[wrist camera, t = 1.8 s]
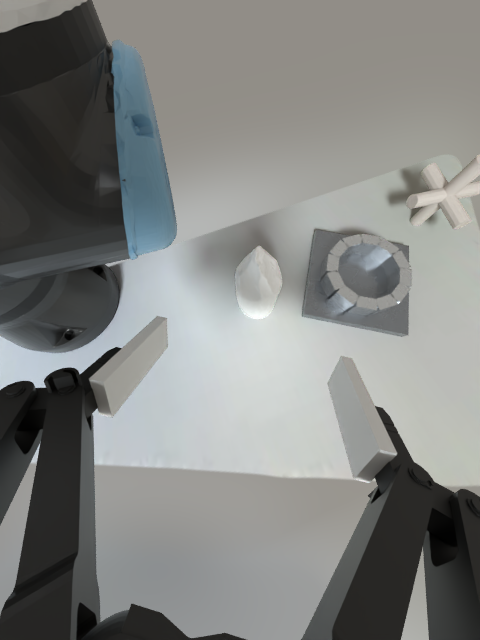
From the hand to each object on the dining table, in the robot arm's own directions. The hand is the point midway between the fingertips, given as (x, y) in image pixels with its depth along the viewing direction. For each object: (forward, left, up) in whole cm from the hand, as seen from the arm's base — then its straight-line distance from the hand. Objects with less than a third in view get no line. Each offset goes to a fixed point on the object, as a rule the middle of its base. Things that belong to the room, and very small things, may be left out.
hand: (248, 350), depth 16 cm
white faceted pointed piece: (0, +9, -13) cm, 16 cm away
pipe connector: (+23, +28, -13) cm, 38 cm away
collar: (+14, +15, -13) cm, 24 cm away
